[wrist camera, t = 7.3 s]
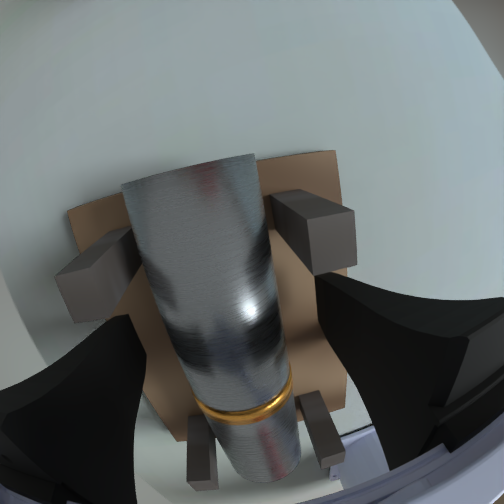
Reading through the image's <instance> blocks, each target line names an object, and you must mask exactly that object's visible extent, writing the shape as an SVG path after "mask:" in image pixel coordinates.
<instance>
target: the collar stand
mask: <svg viewBox="0 0 504 504" xmlns="http://www.w3.org/2000/svg"><path fill="white" fill-rule="evenodd" d="M256 165H257V170H258V176H259V181H260V187H261V193H262V198H263V204H264V210H265V215H266V221H267V227H268V233H269V239H270V244H271V250H272V256H273V262H274V269H275V275H276V281H277V287H278V293H279V300H280V306H281V312H282V319H283V325H284V332H285V339H286V345H287V352H288V359H289V362H290V365H291V371H292V378H293V394H294V401H295V408H296V416H297V422H299V421H302V420H304V422H305V425H306V427H307V430H308V433H309V436H310V439H311V442H312V445H313V447H314V450H315V453H316V456H317V459H318V462H319V464H320V467H321V469H325V468H328V467H331V466H334V465H337V464H340V463H343V462H344V459H345V454H346V450H345V448H344V445H343V443H342V441H341V438H340V436H339V434H338V432H337V429H336V427H335V425H334V423H333V420H332V418H331V416H330V414H329V413H330V412H333V411H336V410H339V409H342V408H345V398H346V383H347V371H346V369H345V368H344V366H343V365H342V363H341V362H340V360H339V359H338V357H337V355H336V354H335V352H334V351H333V349H332V348H331V346H330V344H329V343H328V341H327V340H326V337H325V335H324V333H323V331H322V329H321V326H320V324H319V322H318V317H317V304H316V292H315V281H314V276H315V275H319V274H324V273H328V272H334V273H337V274H340V275H343V276H346V277H347V267H351V266H355V265H357V246H356V229H355V216H354V210H351V209H349V208H347V207H344V206H342V198H341V189H340V180H339V172H338V165H337V158H336V151H335V150H327V151H318V152H310V153H302V154H295V155H288V156H282V157H275V158H269V159H263V160H258V161H256ZM67 213H68V216H69V220H70V224H71V227H72V230H73V234H74V237H75V240H76V243H77V246H78V250H79V253H80V255H79V256H78V257H76V258H75V259H74V260H73V261H72V262H70V263H69V264H68V265H67V266H66V267H65V268H63V269H62V270H61V271H60V272H59V273H58V274H57V275H55V276H54V277H55V280H56V282H57V285H58V287H59V290H60V292H61V295H62V297H63V299H64V301H65V304H66V306H67V308H68V310H69V313H70V315H71V317H72V319H73V321H74V323H79V322H86V321H92V320H99V319H106V321H108V320H109V319H111V318H113V317H114V316H118V315H124V314H129V316H130V318H131V321H132V323H133V325H134V328H135V330H136V332H137V334H138V337H139V339H140V341H141V343H142V345H143V347H144V349H145V352H146V354H147V362H146V375H145V380H144V385H143V389H142V390H143V391H144V393H145V395H146V396H147V398H148V399H149V401H150V403H151V404H152V406H153V407H154V409H155V410H156V412H157V413H158V415H159V417H160V418H161V420H162V421H163V422H164V424H165V425H166V427H167V428H168V430H169V431H170V433H171V434H172V435H173V437H174V438H175V440H176V441H177V442H179V441H187V483H188V484H189V485H190V486H192V487H193V488H194V489H195V490H196V491H205V490H218V489H219V485H218V473H217V459H216V443H215V438H216V436H215V434H214V432H213V430H212V428H211V427H210V425H209V423H208V421H207V419H206V417H205V415H204V413H203V412H202V411H201V409H200V408H199V406H198V404H197V402H196V400H195V398H194V396H193V394H192V391H191V387H190V384H189V382H188V380H187V378H186V376H185V373H184V371H183V369H182V367H181V364H180V362H179V360H178V358H177V355H176V353H175V350H174V348H173V346H172V343H171V341H170V338H169V336H168V333H167V331H166V328H165V326H164V323H163V321H162V318H161V315H160V313H159V310H158V307H157V305H156V302H155V299H154V296H153V293H152V291H151V288H150V285H149V282H148V279H147V276H146V273H145V270H144V267H143V264H142V260H141V257H140V254H139V251H138V247H137V244H136V241H135V237H134V234H133V230H132V226H131V223H130V219H129V215H128V211H127V208H126V204H125V200H124V196H123V192H121V193H118V194H115V195H111V196H108V197H105V198H102V199H99V200H96V201H93V202H90V203H87V204H84V205H81V206H78V207H75V208H73V209H71V210H68V211H67Z"/></svg>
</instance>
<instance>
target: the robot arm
mask: <svg viewBox="0 0 504 504" xmlns="http://www.w3.org/2000/svg"><path fill="white" fill-rule="evenodd" d="M314 281H315V292H316V304H317V317H318V322H319V324H320V326H321V329H322V331H323V333H324V335H325V337H326V340H327V341H328V343H329V344H330V346H331V348H332V349H333V351H334V352H335V354H336V355H337V357H338V359H339V360H340V362H341V363H342V365H343V366H344V368H345V369H346V371H347V372H348V374H349V376H350V377H351V379H352V380H353V382H354V384H355V386H356V387H357V389H358V392H359V394H360V396H361V398H362V400H363V402H364V404H365V407H366V409H367V411H368V414H369V416H370V418H371V421H372V423H373V426H370V427H368V428H365V429H363V430H360V431H357V432H355V433H352V434H349V435H347V436H344V437H341V441H342V443H343V445H344V448H345V450H346V454H345V459H344V462H343V463H340V464H337V465H334V466H331V467H330V474H329V479H330V481H334V480H337V479H340V481H341V484H342V486H343V489H344V490H342V491H339V492H336V493H333V494H330V495H326V496H323V497H320V498H316V499H312V500H309V501H305V502H301V503H297V504H492V503H494V502H495V501H496V500H497V499H498V498H499V497H500V496H501V495H502V494H503V493H504V297H498V298H489V299H480V300H439V299H429V298H421V297H415V296H409V295H404V294H399V293H395V292H391V291H388V290H384V289H381V288H378V287H374V286H371V285H368V284H365V283H363V282H360V281H357V280H354V279H352V278H349V277H346V276H343V275H340V274H337V273H334V272H328V273H324V274H319V275H315V276H314ZM146 362H147V354H146V352H145V349H144V347H143V345H142V343H141V341H140V339H139V337H138V334H137V332H136V330H135V328H134V325H133V323H132V321H131V318H130V316H129V314H124V315H118V316H114V317H113V318H111V319H109V320H108V321H107V322H105V323H104V324H103V325H101V326H100V327H99V328H98V329H96V330H95V331H94V332H93V333H92V334H90V335H89V336H88V337H87V338H86V339H84V340H83V341H82V342H81V343H80V344H78V345H77V346H76V347H74V348H73V349H72V350H71V351H69V352H68V353H67V354H66V355H64V356H63V357H62V358H60V359H59V360H57V361H56V362H55V363H53V364H52V365H50V366H48V367H47V368H45V369H44V370H42V371H41V372H39V373H37V374H35V375H33V376H31V377H30V378H28V379H26V380H24V381H22V382H20V383H18V384H15V385H13V386H11V387H8V388H6V389H3V390H1V391H0V504H137V499H136V492H135V480H134V430H135V423H136V417H137V412H138V408H139V403H140V398H141V394H142V389H143V385H144V380H145V375H146Z"/></svg>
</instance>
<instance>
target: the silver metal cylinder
mask: <svg viewBox="0 0 504 504" xmlns="http://www.w3.org/2000/svg"><path fill="white" fill-rule="evenodd" d="M121 187H122V191H123V196H124V200H125V204H126V208H127V211H128V215H129V219H130V223H131V226H132V230H133V234H134V237H135V241H136V244H137V247H138V251H139V254H140V257H141V260H142V264H143V267H144V270H145V273H146V276H147V279H148V282H149V285H150V288H151V291H152V293H153V296H154V299H155V302H156V305H157V307H158V310H159V313H160V315H161V318H162V321H163V323H164V326H165V328H166V331H167V333H168V336H169V338H170V341H171V343H172V346H173V348H174V350H175V353H176V355H177V358H178V360H179V362H180V364H181V367H182V369H183V371H184V373H185V376H186V378H187V380H188V382H189V384H190V387H191V391H192V394H193V396H194V398H195V400H196V402H197V404H198V406H199V408H200V409H201V411H202V412H203V413H204V415H205V417H206V419H207V421H208V423H209V425H210V427H211V428H212V430H213V432H214V434H215V436H216V438H217V440H218V441H219V443H220V445H221V447H222V448H223V450H224V452H225V454H226V455H227V457H228V459H229V461H230V462H231V464H232V466H233V467H234V469H235V470H236V472H237V473H238V474H239V475H240V476H242V477H243V478H245V479H247V480H250V481H253V482H260V483H266V482H273V481H277V480H279V479H282V478H284V477H285V476H287V475H288V474H290V473H291V472H292V471H293V470H294V469H295V468H296V466H297V465H298V463H299V461H300V457H301V446H300V439H299V431H298V423H297V416H296V408H295V401H294V394H293V378H292V371H291V365H290V362H289V359H288V352H287V345H286V339H285V332H284V325H283V319H282V312H281V306H280V300H279V293H278V287H277V281H276V275H275V269H274V262H273V256H272V250H271V244H270V239H269V233H268V227H267V221H266V215H265V210H264V204H263V198H262V193H261V187H260V181H259V176H258V170H257V165H256V160H255V154H254V153H253V154H247V155H241V156H236V157H231V158H226V159H221V160H216V161H211V162H206V163H202V164H197V165H193V166H188V167H184V168H180V169H176V170H172V171H168V172H164V173H160V174H157V175H153V176H149V177H146V178H142V179H139V180H135V181H132V182H128V183H125V184H122V185H121Z"/></svg>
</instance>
